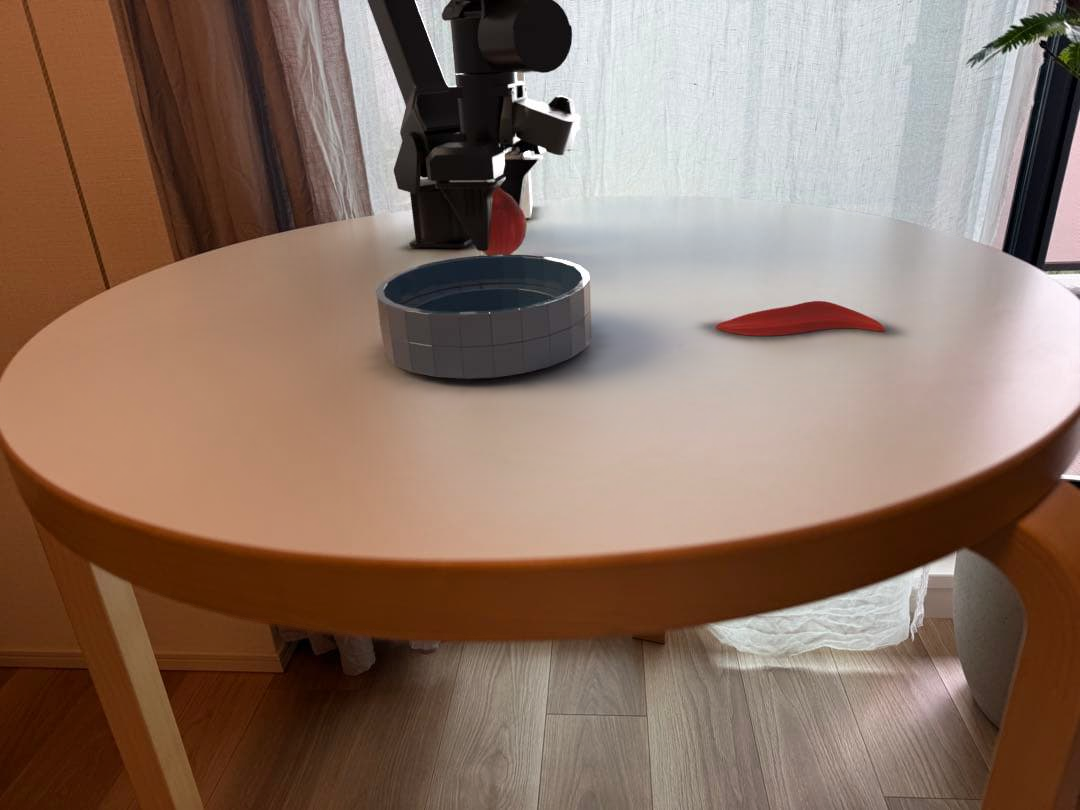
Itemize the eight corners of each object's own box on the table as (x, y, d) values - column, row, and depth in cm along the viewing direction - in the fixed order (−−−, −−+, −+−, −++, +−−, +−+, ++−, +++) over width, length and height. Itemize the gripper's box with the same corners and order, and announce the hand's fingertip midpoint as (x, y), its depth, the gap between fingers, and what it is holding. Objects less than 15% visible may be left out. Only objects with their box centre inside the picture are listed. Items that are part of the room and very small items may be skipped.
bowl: (347, 380, 56) (336, 310, 54) (432, 311, 70) (426, 253, 68) (562, 393, 52) (559, 318, 50) (609, 317, 66) (608, 256, 64)
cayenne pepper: (883, 321, 61) (886, 296, 61) (887, 342, 57) (890, 316, 57) (720, 314, 65) (720, 290, 64) (712, 333, 61) (713, 308, 60)
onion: (537, 256, 85) (533, 177, 82) (512, 270, 80) (507, 187, 77) (488, 253, 87) (482, 176, 84) (461, 267, 83) (453, 185, 79)
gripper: (542, 74, 66) (551, 265, 73) (592, 63, 82) (596, 220, 89) (414, 80, 69) (434, 262, 76) (487, 68, 85) (498, 219, 92)
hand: (498, 239), depth 83 cm, fingers open, 9 cm apart
